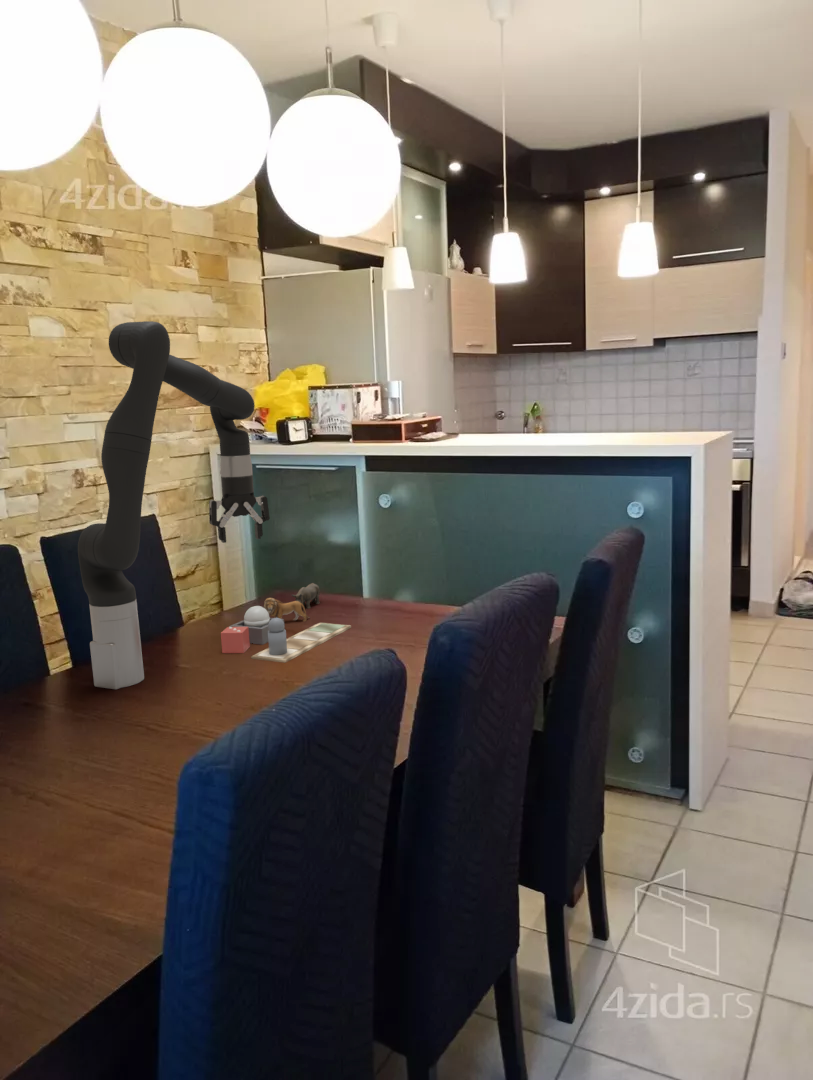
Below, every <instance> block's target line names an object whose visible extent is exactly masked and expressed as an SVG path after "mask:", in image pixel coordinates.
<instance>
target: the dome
mask: <svg viewBox="0 0 813 1080" xmlns="http://www.w3.org/2000/svg"><path fill="white" fill-rule="evenodd" d="M270 618H271V617H270V614H269V613H268V612H267V610H266V609H265V608H264V606H260V605H254V606H251V607H249V608H248V609H247V610H246V612H245V613H244V616H243V620H244V624H245V626H250V627H260V628H261V627H263V626H265V625H268V624H269V622H270Z"/></svg>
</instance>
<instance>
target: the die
mask: <svg viewBox="0 0 813 1080" xmlns="http://www.w3.org/2000/svg"><path fill="white" fill-rule="evenodd" d="M220 638H221V639H220V640H221V652H222V654H244V653H246V651H247V650H248V649H249V648H250V647H251V643H250V641H249V628H248V627H230V626H227V627H226V628H224V629H223V631H221V632H220Z"/></svg>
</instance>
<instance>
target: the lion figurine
mask: <svg viewBox="0 0 813 1080" xmlns="http://www.w3.org/2000/svg"><path fill="white" fill-rule="evenodd" d="M263 602H264V604H263V608H265V609H266V610H267V612H268V613H269V616H270V617H274V618H280V619H283V616H285V615H286V616H287V615H290V614H292V613H294V614H295V615H294V616H295V617H294V618H293V619H292V621H297V620H298V619H299V617H300V616H301V617H303V619H302V622H307V619H310V616H309V615H307V611H306V607H304V606H303V604H302V603H301V602H299V601H295V600H293V601H290V602H282V601H281V600H279V599H275V598H273V597H267V598H265V600H264V601H263Z"/></svg>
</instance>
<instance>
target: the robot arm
mask: <svg viewBox="0 0 813 1080" xmlns="http://www.w3.org/2000/svg"><path fill="white" fill-rule="evenodd" d="M108 348H109V352H110V353H111V355H112V357H113V359H114V360H116V361H117V362H118V363H119V364H121V365H123V366H124V367H125V366H126V367H127V368H130V369H133V370H132V374H131V379H130V384H129V386H128V388H127V390H126V392H125V394H124V395H123V397H122V398H121V400H120V401H119V403H118V405H117V406H116V407H115V409H114V410H113V412H112V414H111V415H110V417H109V419H108V420H107V423H106V426H105V430H104V435H103V439H102V440H103V441H102V447H101V457H100V458H101V466H102V471H103V474H104V478H105V481H106V486H107V490H108V508H107V515H106V521H105V523H93V524H92V523H91V524H89V525H87V527H85V528H84V529H83V530H82V532H81V533H80V535H79V538H78V543H77V555H78V556H77V557H78V564H79V571H80V575H81V582H82V586H83V590H84V592H85V593H86V595H87V597H88V605H89V613H90V624H91V631H92V632H91V633H92V641H90V642H89V649H90V656H91V657H90V659H91V668H92V676H93V685H94V687H97V688H103V689H104V688H105V689H112V690H118V689H122V688H126V687H130V686H133V685H137V684H139V683H141V682H142V681H144V680H145V671H144V663H143V654H142V651H143V650H142V641H141V634H140V633H141V631H140V622H139V614H138V613H139V611H138V602H137V594H136V593H137V591H136V587H135V585H134V584H133V583H132V582H131V581H129V579H128V578H127V577H126V576H125V573H124V572H123V571H125V570H127V569H128V568H130V567H131V566H132V565H133V564H134V562H135V561H136V559H137V557H138V553H139V549H140V540H141V523H142V505H143V498H144V497H143V496H144V490H145V485H146V483H145V482H146V475H147V468H148V465H149V464H148V463H149V459H150V453H151V452H150V451H151V446H152V439H153V431H154V425H155V419H156V413H157V407H158V403H159V397H160V393H161V389H162V386H163V383H166V384H168V385H170V386H171V387H173V388H176V389H177V390H179V391H181V392H182V393H184V394H185V395H186V396H188V397H190V398H192V399H193V400H195V401H197V402H198V403H200V404H202V405H203V406H204V405H205V406H207V407H209V411H210V412H209V413H210V416H211V418H212V421H213V425H214V427H215V431H216V433H217V436H218V439H219V453H220V461H219V468H220V470H219V473H220V482H221V494H222V496H221V497H222V498H221V500H214V499H210V500H209V503H208V505H209V510H208V511H209V520H208V521H209V524H210V525H212V526H215V527H216V528H217V537H218V539H219V541H221V543H223V544H224V543H225V544H226V543H227V532H226V531H227V529H226V527H225V526H226V524H227V523H228V521H229V520H230V519H231V517H234V518H235V517H240V516H243V517H245V516H248V515H249V517H251V518H252V520H254V522H255V523H254V534H255V540H261V538H262V537H263V534H264V533H263V523H264V522H267V521H269V520H270V518H271V517H270V509H269V502H268V497H267V496H265V495H260V496H255V495H254V494H255V492H254V490H255V489H254V476H253V463H252V458H251V457H252V456H251V445H250V437H249V436H250V435H249V433H248V432H247V431H246V430H243V429H239V428H237V425H236V424H235V422H234V421H241V420H243V421H244V420H246V419H248V418H250V417H251V416H252V415H253V414H254V411H255V400H254V399H253V397H252V394H251V393H250V392H249V391H248V390H246V389H245V388H243V387H241V386H238V385H235V384H233V383H231V382H228V381H225V380H222V379H220V378H219V377H218V376H217V375H215V374H213V373H212V372H210V371H208V370H207V369H205V368H204V367H202V366H200V365H198V364H196V363H193V362H190V361H188V360H185V359H183V358H181V357H177V356H175V355H172V354H170V352H171V339H170V335H169V333H168V331H167V329H166V327H165V326H164V325H163V324H162V323H160V322H158V321H154V320H153V321H151V320H149V321H147V320H146V321H129V322H123V323H119V324H117V325H116V326H115V327H113V328H112V330H111V331H110V333H109V336H108ZM256 503H257V505H258V506H260V512H261V516H259V514H258V512H256V510H255V509H254V506H255V505H256ZM220 506H222V508H223V509H224V510H223V513H221V517H220V518H219V520H218V513H217V512H218V510H219V509H220Z"/></svg>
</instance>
